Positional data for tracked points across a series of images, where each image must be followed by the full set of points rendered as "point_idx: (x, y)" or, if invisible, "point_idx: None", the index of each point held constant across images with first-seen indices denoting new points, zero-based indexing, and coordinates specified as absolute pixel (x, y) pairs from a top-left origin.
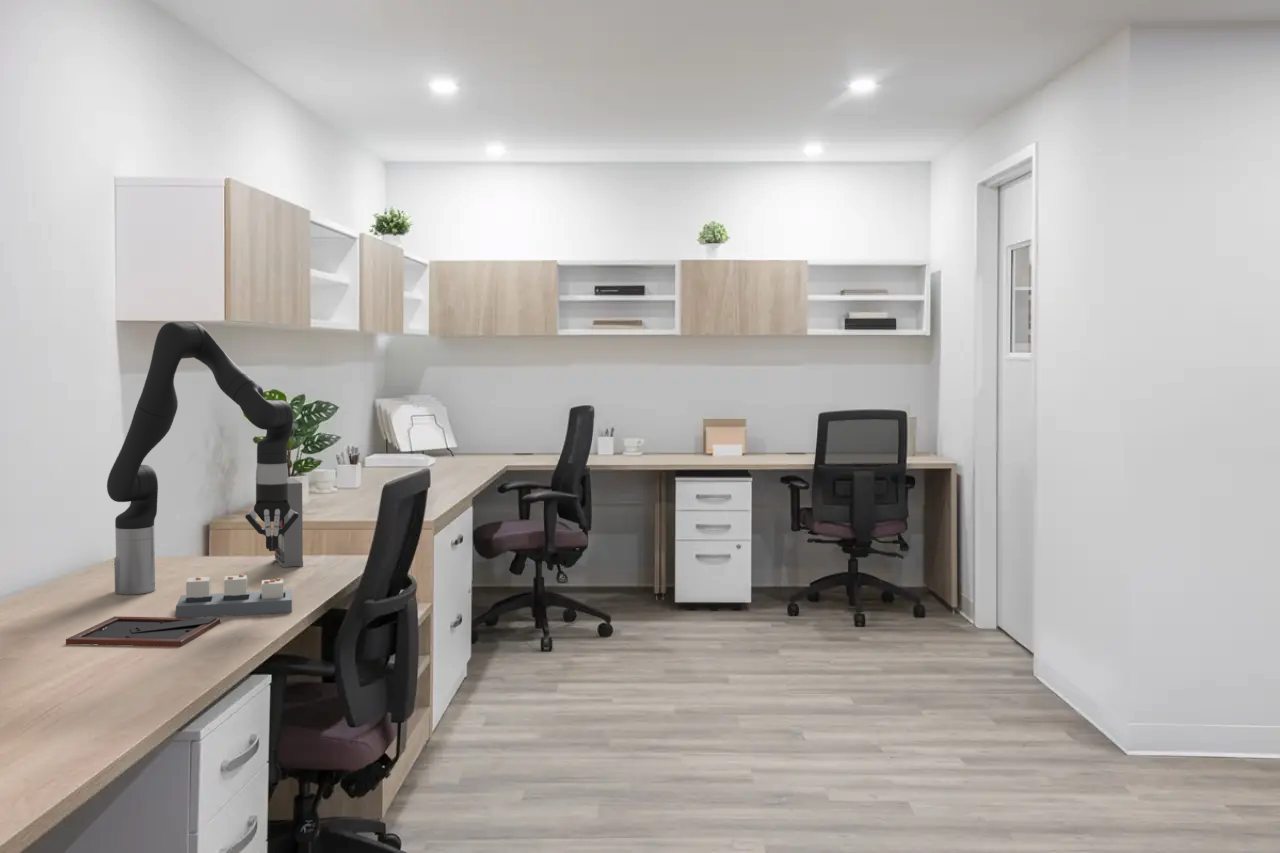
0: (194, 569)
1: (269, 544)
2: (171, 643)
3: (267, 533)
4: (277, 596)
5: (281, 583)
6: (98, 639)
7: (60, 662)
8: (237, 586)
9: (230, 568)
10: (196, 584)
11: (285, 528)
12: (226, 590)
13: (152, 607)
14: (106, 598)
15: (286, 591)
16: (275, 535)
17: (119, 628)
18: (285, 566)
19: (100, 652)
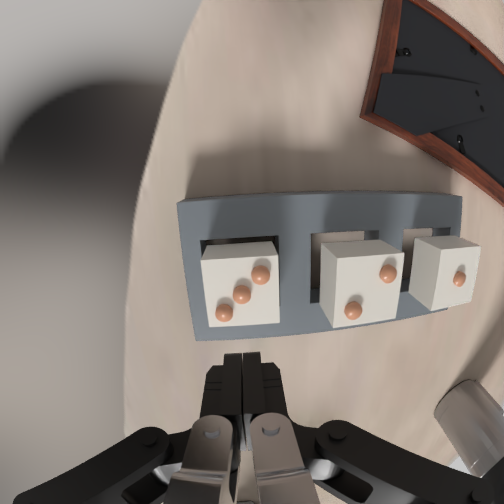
0: None
1: (258, 373)
2: None
3: (279, 429)
4: (223, 245)
5: (206, 259)
6: (498, 60)
7: (489, 8)
8: (356, 248)
9: (321, 496)
10: (459, 244)
11: (128, 454)
12: (381, 244)
13: (466, 303)
14: (488, 360)
15: (206, 320)
16: (214, 420)
17: (500, 133)
18: (248, 502)
19: (475, 20)
